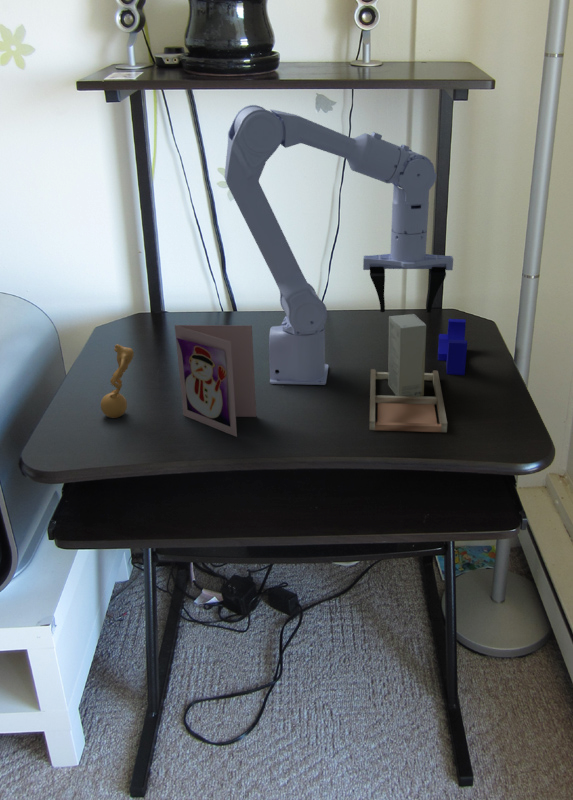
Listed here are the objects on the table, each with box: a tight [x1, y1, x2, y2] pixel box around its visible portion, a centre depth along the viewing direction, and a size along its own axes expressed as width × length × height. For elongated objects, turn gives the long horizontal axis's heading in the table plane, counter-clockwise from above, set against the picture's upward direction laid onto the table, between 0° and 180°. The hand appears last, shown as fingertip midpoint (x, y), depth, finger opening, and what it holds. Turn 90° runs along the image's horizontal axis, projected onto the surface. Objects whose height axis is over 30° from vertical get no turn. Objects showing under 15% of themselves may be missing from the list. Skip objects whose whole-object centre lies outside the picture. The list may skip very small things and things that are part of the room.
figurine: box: [100, 343, 135, 419], centre depth 112 cm, size 8×6×12 cm
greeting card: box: [174, 324, 257, 438], centre depth 109 cm, size 11×7×15 cm, turn 50°
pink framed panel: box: [368, 368, 448, 433], centre depth 116 cm, size 11×19×2 cm, turn 174°
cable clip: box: [437, 318, 468, 376], centre depth 130 cm, size 12×4×6 cm, turn 169°
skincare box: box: [387, 313, 427, 396], centre depth 118 cm, size 6×4×12 cm
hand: (405, 310), depth 125 cm, fingers open, 7 cm apart
